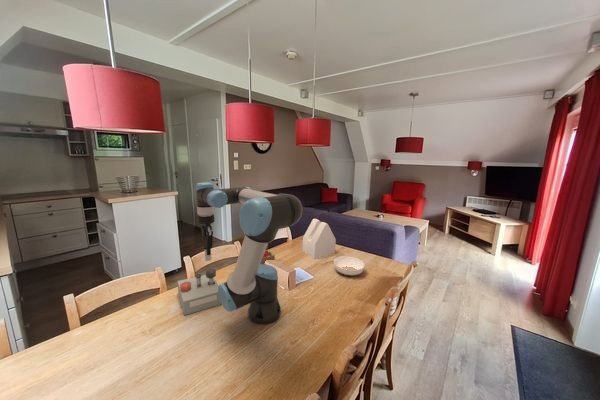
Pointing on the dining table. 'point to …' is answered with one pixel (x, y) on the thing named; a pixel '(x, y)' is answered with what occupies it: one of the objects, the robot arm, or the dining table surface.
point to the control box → (199, 295)
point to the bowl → (349, 265)
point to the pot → (198, 280)
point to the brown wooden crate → (268, 257)
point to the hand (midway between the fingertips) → (208, 260)
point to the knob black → (211, 275)
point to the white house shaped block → (318, 240)
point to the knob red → (185, 286)
